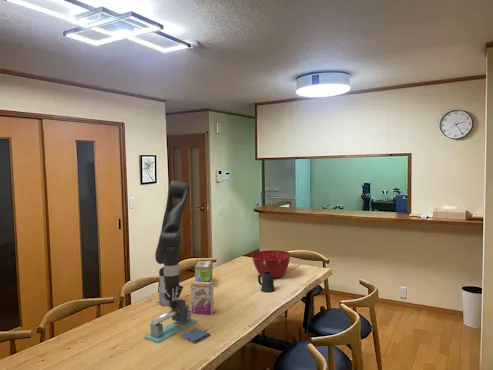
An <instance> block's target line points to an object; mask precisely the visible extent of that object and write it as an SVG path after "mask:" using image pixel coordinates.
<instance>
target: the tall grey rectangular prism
mask: <svg viewBox="0 0 493 370" xmlns="http://www.w3.org/2000/svg"><path fill="white" fill-rule="evenodd" d="M186 303H187V302H186V300H184V299H180V298H177V299H176V308H179V314H178V315H175V316H173V317H171V320H172V321H173V322H174V321H178V322H181V323H183V322H185V321H186ZM174 309H175V308H174ZM170 310H173V309H172V308H170Z"/></svg>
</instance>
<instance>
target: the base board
mask: <svg viewBox="0 0 493 370" xmlns="http://www.w3.org/2000/svg"><path fill="white" fill-rule="evenodd" d="M197 322H198V320H197V319H195V318H191V321H190V322H188V323H186V322H183V323H181V322H178V321H174V320H173V321H172V322H170V323H169V324H166V325H163V336H162V337H160V338H156V337H153V336H151V332H150V333H148V334H146V335H145V336H144V340H148V341H151V342H153V343H155V344H160V343H161V342H163V341H165V340H167V339H168V338H170V337H172V336H174V335H176V334H178V333H179V332H182V331H183V330H186V329H187V328H189V327H190V326H193V325H194V324H196V323H197Z"/></svg>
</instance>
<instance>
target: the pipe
mask: <svg viewBox="0 0 493 370" xmlns="http://www.w3.org/2000/svg"><path fill="white" fill-rule="evenodd" d="M178 314H179V308H175V309H173V310H172V309H170V310H169V311H167V312H165V313H163V314H161V315H158V316H156V317H154V318H152V319H151V323H150V326H149V327H150V333H151V336H153V337H156V338H160V337H162V336H163V327H164V325H163V322H165V321H167V320H169V319H172V317H173V316H175V315H178ZM191 319H192V309H190V305H189V304H188V303H187V302H186V321H185V322H186V323H188V322H190V321H191Z"/></svg>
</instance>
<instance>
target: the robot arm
mask: <svg viewBox="0 0 493 370" xmlns="http://www.w3.org/2000/svg"><path fill="white" fill-rule="evenodd" d="M189 195H190V184H189V183H188V182H184V181H183V182H182V181H179V180H171V181H170V182H169V185H168V190H167V198H166V205H165V209H164V210H165V211H164V214H163V219H162V223H161V224H162V225H161V231H160V235H159V237H158V242H157V246H156V249H155V254H154V255H155V256H154V257H155V261H156V263H157V264H159V265H163V266H162V267H161V268H160V269H159V271H158V276H159V278H158V279H159V287H158V303H159V304H160V305H161V306H163V307H164V306H165V307H167V306H169V308H170V309H171V308H172V309H174V308H176V299H180V296H181V294H182V291H183V289H184V286H183V285H180V282H181V279H180V265H179V252H180V247H181V243H182V235H181V234H180V233H179V232H178V231H180V229H181V224H182V218H183V215H184V211H185V208H186V206H187V205H186V204H187V203H188V198H189ZM174 199H178V200H180V201H179V203H177V204H176V205H175V203H174ZM172 309H171V310H172Z"/></svg>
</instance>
